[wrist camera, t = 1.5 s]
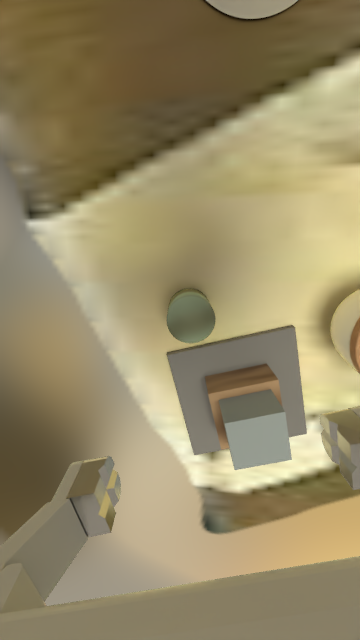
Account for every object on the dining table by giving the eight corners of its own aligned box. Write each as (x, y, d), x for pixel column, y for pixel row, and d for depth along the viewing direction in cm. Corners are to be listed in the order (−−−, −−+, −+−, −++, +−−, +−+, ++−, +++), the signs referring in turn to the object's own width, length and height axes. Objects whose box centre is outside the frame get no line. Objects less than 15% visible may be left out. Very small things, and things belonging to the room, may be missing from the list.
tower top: (218, 399, 29) (224, 423, 25) (270, 389, 28) (285, 411, 24) (227, 441, 30) (234, 470, 26) (277, 432, 30) (291, 459, 26)
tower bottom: (204, 376, 32) (208, 394, 28) (266, 363, 32) (278, 379, 28) (216, 426, 34) (221, 449, 31) (274, 415, 34) (286, 437, 30)
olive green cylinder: (164, 293, 30) (161, 302, 25) (205, 284, 30) (210, 291, 25) (174, 332, 31) (173, 347, 27) (213, 323, 31) (219, 337, 26)
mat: (167, 352, 32) (167, 355, 31) (292, 325, 31) (294, 327, 30) (194, 450, 36) (194, 455, 36) (303, 429, 35) (306, 433, 35)
